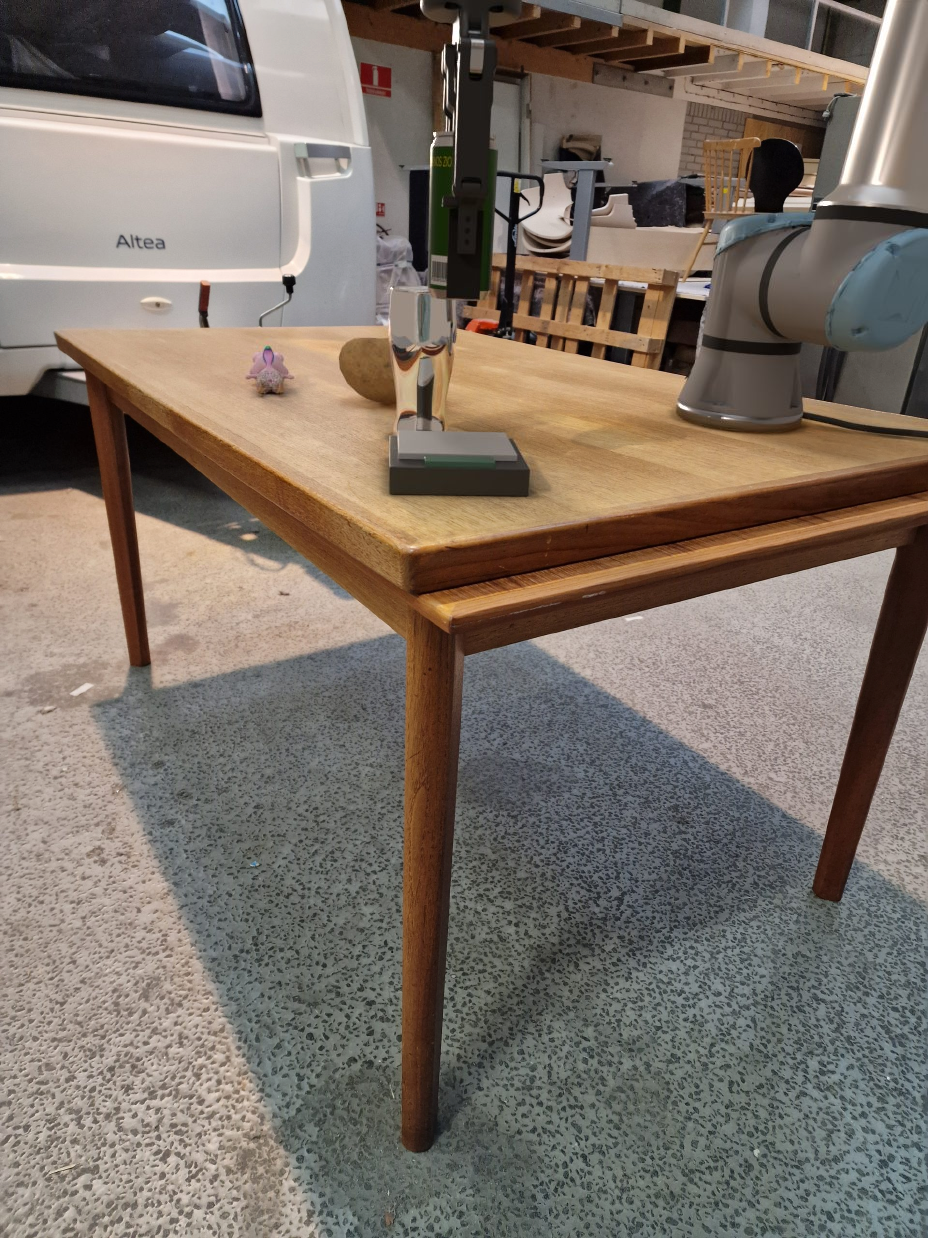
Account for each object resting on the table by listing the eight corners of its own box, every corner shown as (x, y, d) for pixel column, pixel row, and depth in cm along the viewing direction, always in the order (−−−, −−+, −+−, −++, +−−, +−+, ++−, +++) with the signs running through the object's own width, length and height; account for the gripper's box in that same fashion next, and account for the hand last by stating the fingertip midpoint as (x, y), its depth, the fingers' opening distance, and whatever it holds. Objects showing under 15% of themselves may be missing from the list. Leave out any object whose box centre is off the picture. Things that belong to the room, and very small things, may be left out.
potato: (456, 411, 101) (458, 343, 97) (341, 411, 98) (339, 341, 95) (444, 396, 110) (446, 333, 106) (338, 395, 107) (336, 331, 104)
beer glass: (445, 448, 84) (450, 292, 78) (380, 442, 86) (379, 288, 79) (458, 433, 91) (464, 287, 84) (398, 428, 92) (399, 284, 85)
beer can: (472, 302, 66) (479, 130, 61) (415, 296, 68) (417, 130, 63) (501, 298, 70) (510, 137, 65) (447, 293, 73) (451, 137, 67)
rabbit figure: (296, 406, 106) (290, 367, 118) (294, 360, 102) (288, 325, 114) (246, 406, 104) (245, 367, 116) (243, 360, 101) (242, 324, 113)
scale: (511, 462, 81) (513, 432, 79) (528, 496, 71) (530, 462, 70) (389, 460, 80) (389, 429, 78) (389, 494, 70) (389, 459, 68)
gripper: (417, -20, 67) (412, 285, 77) (426, -97, 51) (419, 303, 61) (507, -13, 68) (491, 288, 78) (546, -87, 51) (519, 307, 61)
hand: (459, 294), depth 69 cm, fingers closed on beer can, 5 cm apart
